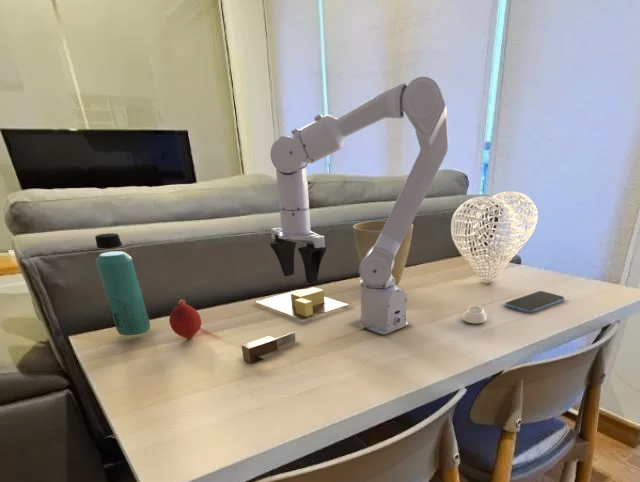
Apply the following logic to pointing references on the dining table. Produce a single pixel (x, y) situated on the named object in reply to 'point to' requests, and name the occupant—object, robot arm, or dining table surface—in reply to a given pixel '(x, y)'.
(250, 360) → the knife
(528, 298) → the smartphone
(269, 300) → the board
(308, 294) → the butter block
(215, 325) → the dining table surface
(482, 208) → the heart
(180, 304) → the onion
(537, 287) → the dining table surface
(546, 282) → the dining table surface
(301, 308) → the butter slice
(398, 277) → the plant pot
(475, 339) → the dining table surface
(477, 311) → the white jar
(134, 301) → the beverage bottle
